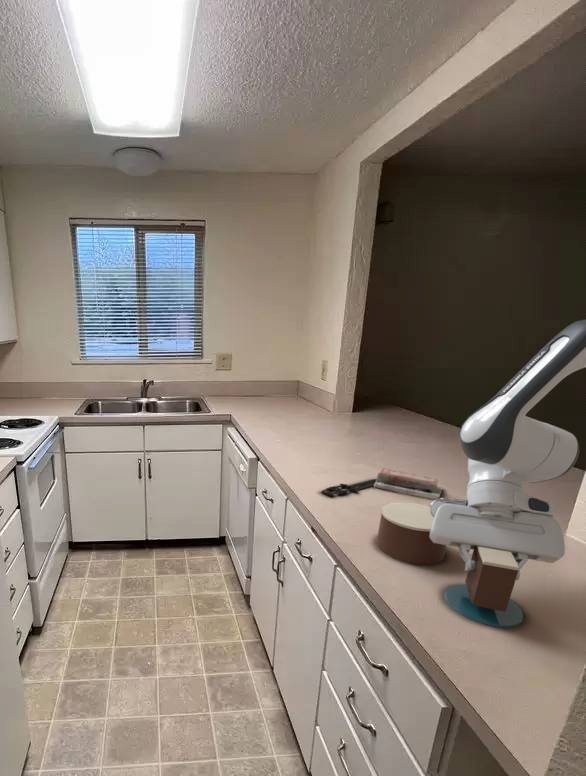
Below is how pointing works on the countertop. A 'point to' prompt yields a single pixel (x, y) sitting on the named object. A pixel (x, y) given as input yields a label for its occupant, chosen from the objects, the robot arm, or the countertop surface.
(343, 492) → the knife
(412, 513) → the cake
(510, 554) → the cake slice
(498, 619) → the plate
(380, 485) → the packaged product
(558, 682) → the countertop surface
